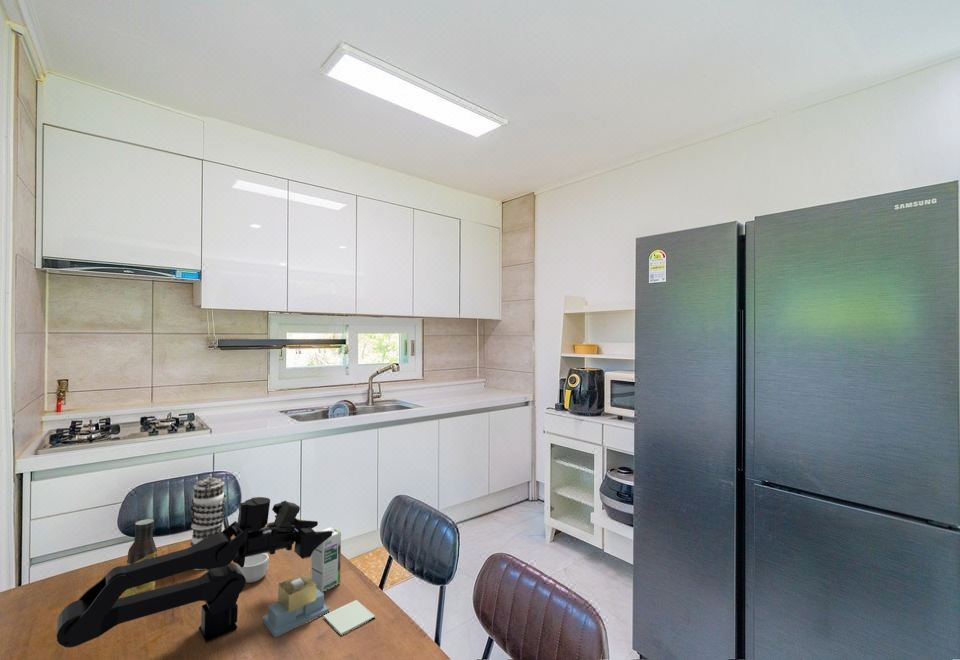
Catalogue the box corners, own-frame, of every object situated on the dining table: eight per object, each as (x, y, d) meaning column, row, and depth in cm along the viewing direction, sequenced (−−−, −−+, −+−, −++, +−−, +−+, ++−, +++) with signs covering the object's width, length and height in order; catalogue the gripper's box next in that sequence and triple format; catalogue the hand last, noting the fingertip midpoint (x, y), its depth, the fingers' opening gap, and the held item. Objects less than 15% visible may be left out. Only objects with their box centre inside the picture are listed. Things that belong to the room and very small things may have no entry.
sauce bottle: (137, 608, 107) (140, 529, 107) (117, 605, 108) (120, 526, 109) (161, 593, 113) (164, 518, 114) (142, 590, 115) (145, 516, 115)
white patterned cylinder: (191, 558, 131) (193, 477, 132) (225, 552, 135) (228, 473, 136) (185, 573, 123) (188, 486, 124) (222, 566, 127) (224, 482, 128)
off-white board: (341, 636, 98) (341, 633, 98) (323, 617, 105) (323, 615, 105) (375, 618, 105) (375, 615, 105) (356, 602, 111) (356, 599, 111)
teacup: (258, 586, 117) (259, 567, 117) (231, 585, 118) (232, 566, 118) (277, 567, 127) (277, 549, 127) (252, 566, 128) (252, 548, 128)
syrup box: (322, 593, 115) (323, 539, 115) (310, 585, 118) (311, 532, 119) (340, 584, 119) (341, 531, 119) (328, 576, 123) (329, 526, 123)
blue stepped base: (275, 637, 98) (276, 600, 98) (262, 621, 103) (263, 585, 103) (330, 611, 107) (331, 577, 107) (315, 597, 113) (316, 565, 113)
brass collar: (288, 612, 100) (289, 595, 100) (277, 600, 105) (278, 583, 105) (315, 600, 105) (316, 584, 105) (304, 589, 110) (304, 573, 110)
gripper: (281, 517, 101) (343, 506, 112) (256, 498, 115) (313, 490, 125) (276, 566, 100) (338, 551, 111) (251, 541, 113) (309, 529, 124)
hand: (324, 528), depth 118 cm, fingers open, 9 cm apart
